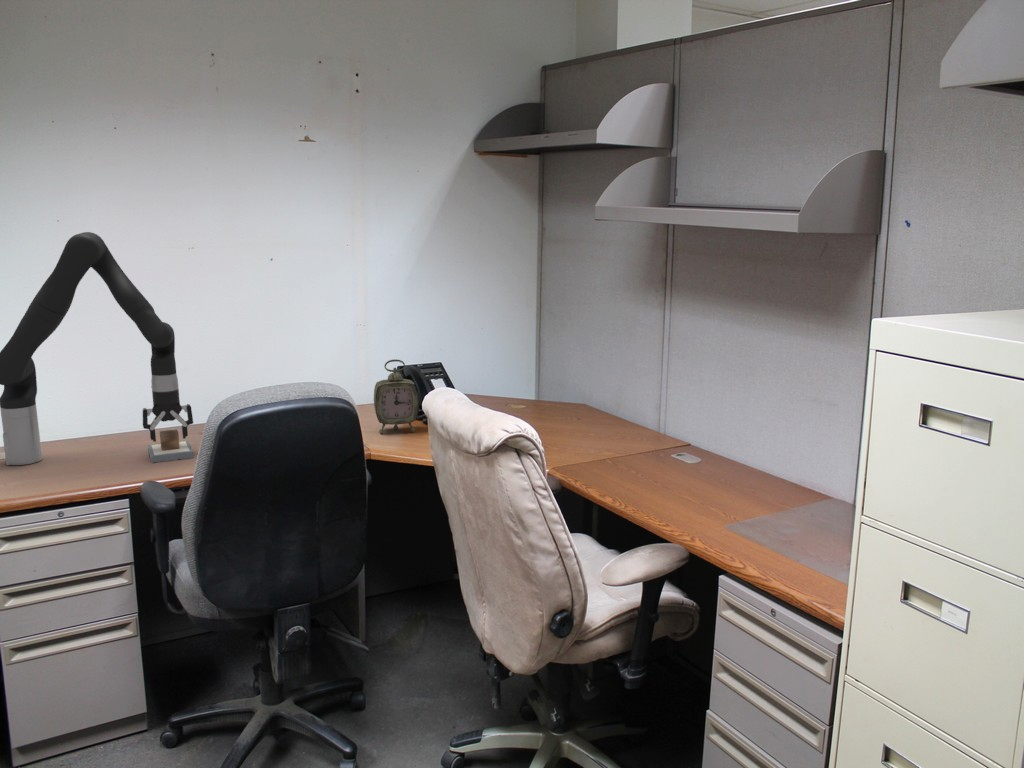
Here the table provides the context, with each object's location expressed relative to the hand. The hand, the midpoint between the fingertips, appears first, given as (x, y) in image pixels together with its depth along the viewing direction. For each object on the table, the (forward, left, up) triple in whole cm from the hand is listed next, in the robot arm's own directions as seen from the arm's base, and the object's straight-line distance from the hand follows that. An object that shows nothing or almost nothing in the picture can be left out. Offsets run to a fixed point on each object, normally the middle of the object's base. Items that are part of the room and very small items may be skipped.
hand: (169, 439), depth 259 cm
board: (0, 0, -5) cm, 5 cm away
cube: (0, 0, -3) cm, 3 cm away
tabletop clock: (+72, -4, -5) cm, 72 cm away
